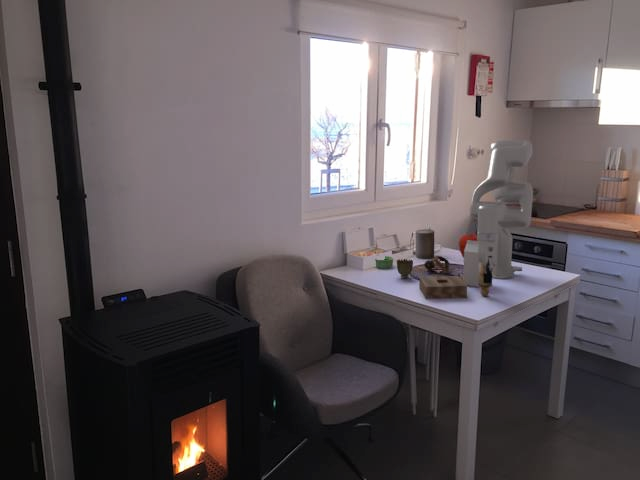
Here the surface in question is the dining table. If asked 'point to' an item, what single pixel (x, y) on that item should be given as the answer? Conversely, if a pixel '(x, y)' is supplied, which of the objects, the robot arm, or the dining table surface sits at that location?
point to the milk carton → (471, 264)
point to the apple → (464, 241)
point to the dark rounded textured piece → (404, 267)
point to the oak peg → (483, 285)
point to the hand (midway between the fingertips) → (485, 280)
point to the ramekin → (385, 262)
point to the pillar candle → (425, 243)
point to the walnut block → (443, 287)
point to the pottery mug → (431, 264)
